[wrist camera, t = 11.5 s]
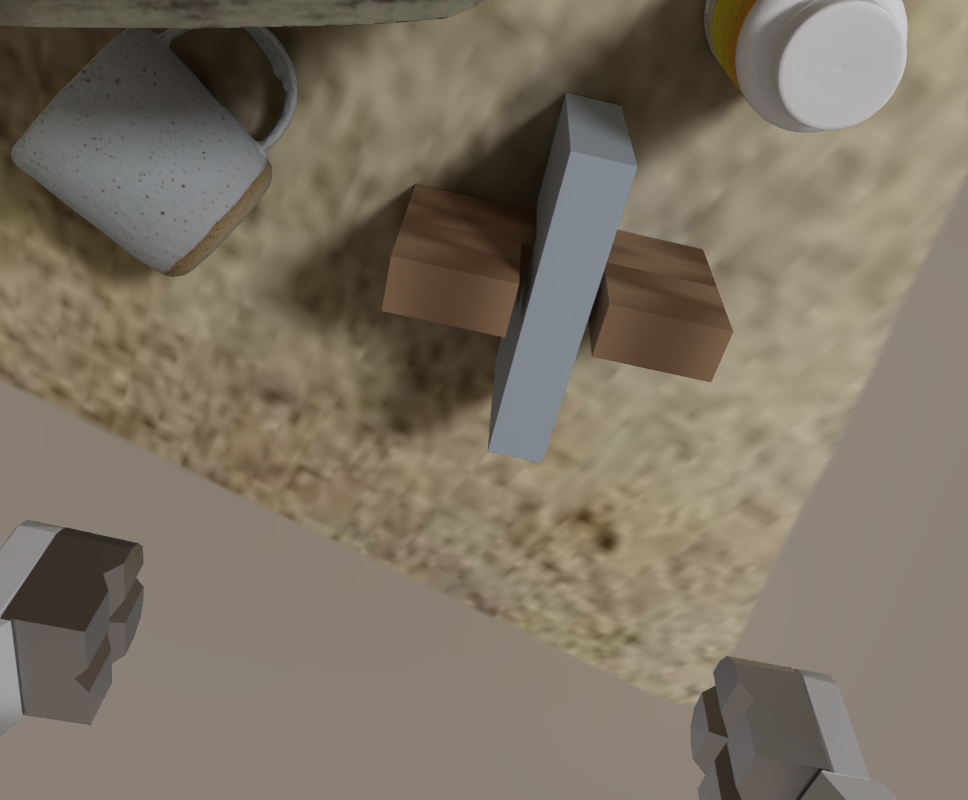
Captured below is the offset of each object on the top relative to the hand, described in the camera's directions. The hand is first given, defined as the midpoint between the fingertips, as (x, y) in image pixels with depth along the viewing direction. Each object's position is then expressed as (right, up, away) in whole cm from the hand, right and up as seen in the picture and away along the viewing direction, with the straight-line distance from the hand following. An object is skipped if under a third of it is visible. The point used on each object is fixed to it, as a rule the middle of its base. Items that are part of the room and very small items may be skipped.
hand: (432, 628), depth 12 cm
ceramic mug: (-12, +17, +28) cm, 34 cm away
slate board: (+4, +11, +30) cm, 32 cm away
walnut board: (+4, +11, +30) cm, 32 cm away
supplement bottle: (+12, +19, +24) cm, 33 cm away
